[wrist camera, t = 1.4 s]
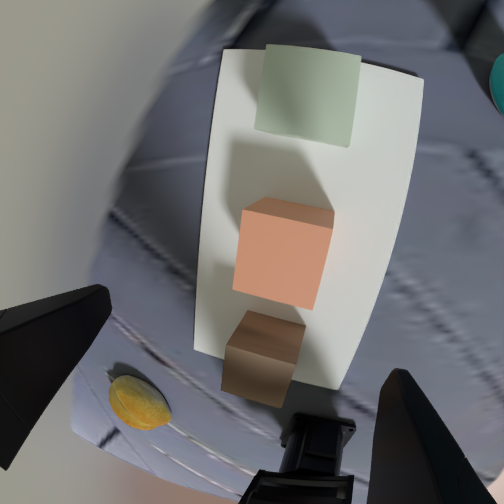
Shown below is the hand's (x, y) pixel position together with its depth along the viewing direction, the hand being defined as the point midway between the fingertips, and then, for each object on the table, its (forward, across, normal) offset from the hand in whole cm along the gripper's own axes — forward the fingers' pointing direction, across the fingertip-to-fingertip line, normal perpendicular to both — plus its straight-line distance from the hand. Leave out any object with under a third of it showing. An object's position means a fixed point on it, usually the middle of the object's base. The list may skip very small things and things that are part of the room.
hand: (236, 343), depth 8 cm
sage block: (+12, 0, -7) cm, 14 cm away
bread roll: (+11, +14, +26) cm, 32 cm away
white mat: (+12, 0, +1) cm, 12 cm away
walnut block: (+11, 0, +10) cm, 15 cm away
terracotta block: (+12, 0, +1) cm, 12 cm away
